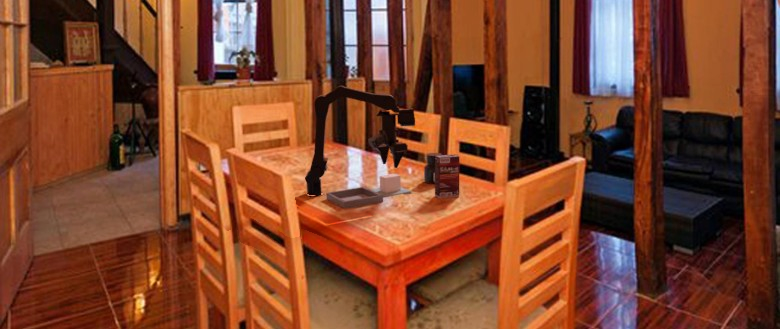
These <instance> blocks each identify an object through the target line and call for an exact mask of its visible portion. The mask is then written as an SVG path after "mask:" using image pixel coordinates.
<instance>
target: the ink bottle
mask: <svg viewBox="0 0 780 329" xmlns="http://www.w3.org/2000/svg"><path fill="white" fill-rule="evenodd" d="M425 155H426V160H425V161H426V165H424V167H423V171H424V172H423V174H424V176H423V180H424V183H426V184H431V185H432V184H433V185H435V156H441V155H443V153H441V152H429V153H426V154H425Z"/></svg>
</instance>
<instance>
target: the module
mask: <svg viewBox="0 0 780 329" xmlns="http://www.w3.org/2000/svg"><path fill="white" fill-rule="evenodd" d="M401 184H402V183H401V175H400V174H398V173H389V174H382V175H379V188H380V191H382V192H385V193H388V192H393V191H399V190H401V187H402V186H401Z"/></svg>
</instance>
